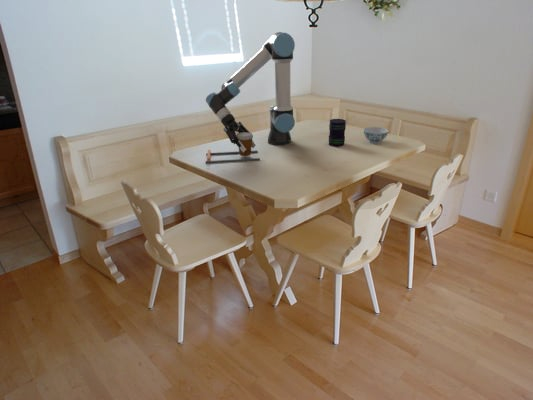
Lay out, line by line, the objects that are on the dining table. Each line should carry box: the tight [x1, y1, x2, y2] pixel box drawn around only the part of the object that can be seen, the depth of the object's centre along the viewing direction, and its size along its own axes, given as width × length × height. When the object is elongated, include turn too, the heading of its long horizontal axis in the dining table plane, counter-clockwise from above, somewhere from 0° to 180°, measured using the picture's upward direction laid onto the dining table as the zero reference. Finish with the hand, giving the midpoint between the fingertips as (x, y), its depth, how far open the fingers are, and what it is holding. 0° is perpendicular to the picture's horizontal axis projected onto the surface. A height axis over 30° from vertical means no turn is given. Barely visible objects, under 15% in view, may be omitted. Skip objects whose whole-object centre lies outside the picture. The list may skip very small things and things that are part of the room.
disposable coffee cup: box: [236, 131, 254, 157], centre depth 223 cm, size 10×10×12 cm
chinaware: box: [363, 126, 389, 145], centre depth 246 cm, size 15×15×8 cm
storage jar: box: [328, 118, 347, 148], centre depth 241 cm, size 10×10×15 cm
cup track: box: [205, 149, 261, 164], centre depth 224 cm, size 30×15×3 cm, turn 96°
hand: (249, 148), depth 222 cm, fingers closed on disposable coffee cup, 9 cm apart
